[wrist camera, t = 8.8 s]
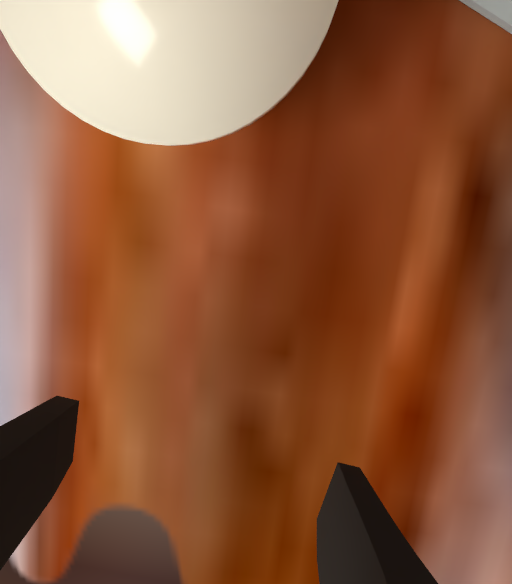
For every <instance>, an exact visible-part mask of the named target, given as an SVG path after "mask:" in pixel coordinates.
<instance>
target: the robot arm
mask: <svg viewBox="0 0 512 584" xmlns="http://www.w3.org/2000/svg"><path fill="white" fill-rule="evenodd" d="M78 406H79V401H77V400H73V399H69V398H65V397H60V396H56V397H54V398H52V399H50V400H48V401H46V402H44V403H42V404H40V405H39V406H37V407H35V408H33V409H31V410H30V411H28V412H26V413H24V414H22V415H20V416H18V417H17V418H15V419H13V420H11V421H9V422H7V423H5V424H4V425H2V426H0V570H1V569H2V567H3V566H4V565H5V563H6V562H7V560H8V559H9V558H10V556H11V555H12V553H13V552H14V551H15V549H16V548H17V546H18V545H19V544H20V542H21V541H22V539H23V538H24V537H25V535H26V534H27V533H28V531H29V530H30V528H31V527H32V526H33V524H34V523H35V521H36V520H37V519H38V517H39V516H40V514H41V513H42V511H43V510H44V509H45V507H46V506H47V504H48V503H49V502H50V500H51V499H52V497H53V496H54V494H55V492H56V490H57V488H58V487H59V485H60V483H61V481H62V480H63V478H64V476H65V474H66V472H67V470H68V469H69V467H70V465H71V463H72V461H73V452H74V443H75V434H76V425H77V415H78ZM317 563H318V572H319V581H320V584H438V583H437V581H436V580H435V579H434V578H433V576H432V575H431V573H430V572H429V571H428V569H427V568H426V567H425V565H424V564H423V563H422V561H421V560H420V559H419V557H418V556H417V555H416V553H415V552H414V550H413V549H412V547H411V546H410V545H409V543H408V542H407V540H406V539H405V537H404V536H403V534H402V533H401V532H400V530H399V529H398V527H397V526H396V524H395V523H394V521H393V519H392V518H391V516H390V515H389V513H388V512H387V510H386V509H385V507H384V505H383V504H382V502H381V501H380V499H379V498H378V496H377V494H376V493H375V491H374V490H373V488H372V486H371V485H370V483H369V482H368V480H367V478H366V477H365V475H364V474H363V472H362V471H361V469H360V468H359V467H355V466H351V465H346V464H342V463H337V466H336V469H335V471H334V474H333V477H332V480H331V482H330V485H329V488H328V490H327V493H326V496H325V499H324V501H323V504H322V507H321V509H320V512H319V515H318V518H317Z"/></svg>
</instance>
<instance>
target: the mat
mask: <svg viewBox="0 0 512 584" xmlns="http://www.w3.org/2000/svg"><path fill="white" fill-rule="evenodd" d="M459 1H461V2H462V3H464V4H466V5H467V6H469V7H470V8H472V9H473V10H475V11H477V12H478V13H480V14H481V15H483V16H484V17H486V18H487V19H489V20H491V21H492V22H494V23H495V24H497V25H498V26H500V27H502V28H503V29H505V30H506V31H508V32H509V33H511V34H512V0H459Z"/></svg>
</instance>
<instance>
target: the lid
mask: <svg viewBox="0 0 512 584" xmlns="http://www.w3.org/2000/svg"><path fill="white" fill-rule="evenodd" d="M338 1H339V0H0V30H1V31H2V33H3V35H4V37H5V38H6V40H7V42H8V44H9V45H10V47H11V49H12V51H13V52H14V53H15V55H16V56H17V57H18V59H19V60H20V62H21V63H22V64H23V66H24V67H25V69H26V70H27V71H28V73H29V74H30V75H31V76H32V77H33V78H34V79H35V80H36V81H37V83H38V84H39V85H40V86H41V87H42V88H43V89H44V90H45V91H46V92H47V93H48V94H49V95H50V96H51V97H53V98H54V99H55V100H56V101H57V102H58V103H59V104H60V105H62V106H63V107H64V108H66V109H67V110H68V111H70V112H71V113H73V114H74V115H76V116H77V117H78V118H80V119H81V120H83V121H85V122H87V123H89V124H91V125H92V126H94V127H96V128H98V129H100V130H102V131H104V132H107V133H110V134H112V135H115V136H118V137H120V138H123V139H127V140H132V141H136V142H141V143H145V144H157V145H169V146H178V145H194V144H199V143H204V142H209V141H214V140H216V139H219V138H222V137H225V136H228V135H231V134H233V133H235V132H237V131H239V130H241V129H243V128H245V127H247V126H249V125H251V124H252V123H254V122H255V121H257V120H258V119H259V118H261V117H262V116H264V115H265V114H267V113H268V112H269V111H271V110H272V109H273V108H274V107H275V106H276V105H277V104H278V103H279V102H280V101H281V100H283V99H284V98H285V97H286V96H287V95H288V93H289V92H290V91H291V90H292V89H293V88H294V86H295V85H296V84H297V83H298V82H299V80H300V79H301V78H302V77H303V75H304V74H305V72H306V70H307V69H308V67H309V66H310V64H311V63H312V61H313V60H314V58H315V57H316V54H317V52H318V50H319V48H320V46H321V44H322V42H323V40H324V38H325V36H326V34H327V32H328V29H329V26H330V23H331V21H332V18H333V15H334V12H335V9H336V7H337V4H338Z"/></svg>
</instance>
